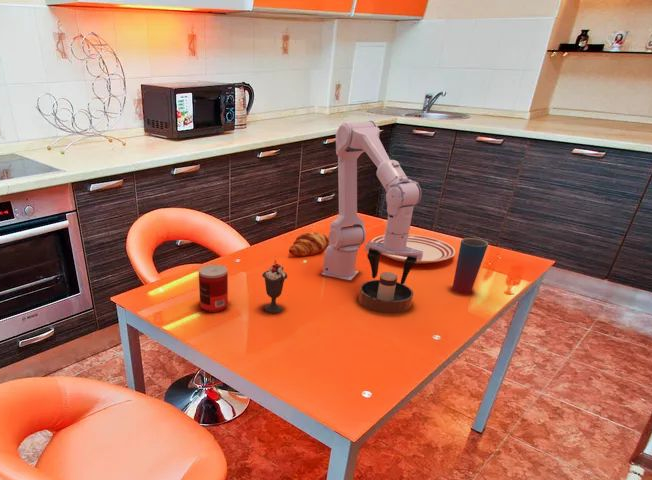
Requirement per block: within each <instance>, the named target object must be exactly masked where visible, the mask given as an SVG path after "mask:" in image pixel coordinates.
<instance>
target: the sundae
mask: <svg viewBox="0 0 652 480" xmlns="http://www.w3.org/2000/svg"><path fill="white" fill-rule="evenodd" d="M261 276H262V278H264V284H265V292H266V294H267V296H268V297H269V298H270V299H271V300H270V304H267V305H265V306H264V308H263V309H264V310H265V312H267V313H269V314H278V313H280V312H282V311H283V307H282V306H281V305H278V304H277V299H278V298H279V297H280V296H281V295H282V292H283V289H284V288H283V287H284V283H285V280H286V279H288V274H287V272H286V271H284V267H283V266H281V264H279V263H277V260H274V263H273V265H271V267H269V269H268V270H266V271H265V272H263V273H262V275H261Z"/></svg>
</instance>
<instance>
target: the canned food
mask: <svg viewBox="0 0 652 480" xmlns="http://www.w3.org/2000/svg"><path fill="white" fill-rule="evenodd" d="M228 278H229V274H228V268H227V267H226V266H225V265H222V264H206V265H203V266H201V267H200V268H199V269H198V288H199V305H200V308H201V310H203V311H205V312H206V313H207V312H208V313H219V312H222V311H224V310H226V308H227V307H228V303H229V288H228V287H229V283H228V282H229V279H228Z"/></svg>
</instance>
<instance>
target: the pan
mask: <svg viewBox="0 0 652 480" xmlns="http://www.w3.org/2000/svg"><path fill="white" fill-rule="evenodd" d="M379 280H380V279H372V280H367V281H365V282H363V283H362V284H361V285H360V286H359V293H358V302H359V304H360V305H361V306H362V307H363V308H365V309H367V310H369V311H371V312H375V313H380V314H388V315H389V314H390V315H395V314H401V313H405V312H407V311H409V310H410V308H411V307H412V304H413V303H412V302H413V299H414V290H413V289H411V288H410V287H409V286H408V285H406V284H405V283H404V284H401V282H400V281H399V282H398V281H397V283H396V287H395V293H394V298H393V301H384V300H379V299H377V293H378V287H379Z"/></svg>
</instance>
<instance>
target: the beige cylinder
mask: <svg viewBox="0 0 652 480" xmlns="http://www.w3.org/2000/svg"><path fill="white" fill-rule="evenodd" d="M398 278H399V277H398V274H396V273H394V272H391V271H384V272H381V273H380V276H379V279H378V280H379V287H378V293H377V299H379V300H384V301H393V298H394V293H395V287H396V283H397V282H398Z"/></svg>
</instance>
